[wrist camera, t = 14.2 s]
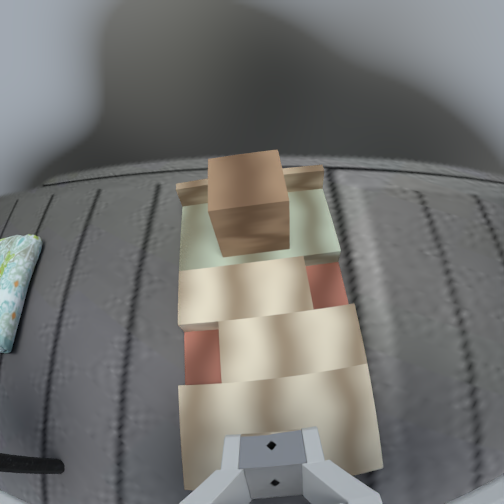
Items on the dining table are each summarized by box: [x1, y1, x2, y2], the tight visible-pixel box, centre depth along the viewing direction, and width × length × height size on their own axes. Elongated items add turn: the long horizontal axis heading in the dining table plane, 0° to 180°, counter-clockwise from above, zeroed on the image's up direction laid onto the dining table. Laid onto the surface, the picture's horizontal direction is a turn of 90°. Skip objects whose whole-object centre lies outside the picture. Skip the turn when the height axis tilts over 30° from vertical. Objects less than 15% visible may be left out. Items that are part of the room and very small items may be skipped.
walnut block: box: [208, 150, 290, 257], centre depth 32 cm, size 7×7×8 cm
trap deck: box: [176, 165, 383, 490], centre depth 29 cm, size 17×32×6 cm, turn 5°
